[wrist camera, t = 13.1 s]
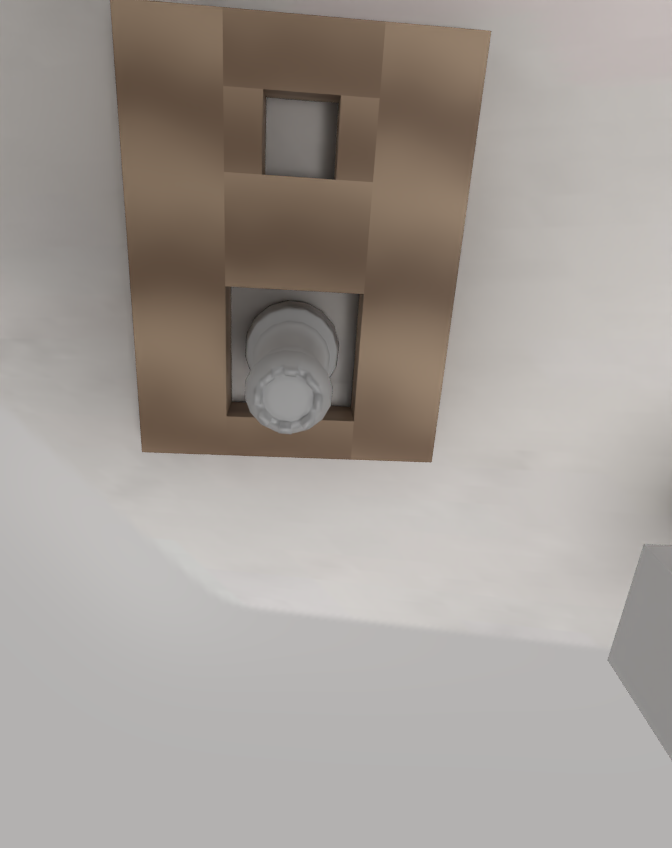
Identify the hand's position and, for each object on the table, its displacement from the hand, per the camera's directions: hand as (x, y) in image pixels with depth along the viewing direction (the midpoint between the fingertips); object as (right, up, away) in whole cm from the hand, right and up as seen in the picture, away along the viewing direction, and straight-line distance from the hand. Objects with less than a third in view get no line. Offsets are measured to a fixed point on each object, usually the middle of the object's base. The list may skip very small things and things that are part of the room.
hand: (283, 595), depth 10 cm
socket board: (-1, +11, +16) cm, 19 cm away
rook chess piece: (-1, +7, +17) cm, 19 cm away
